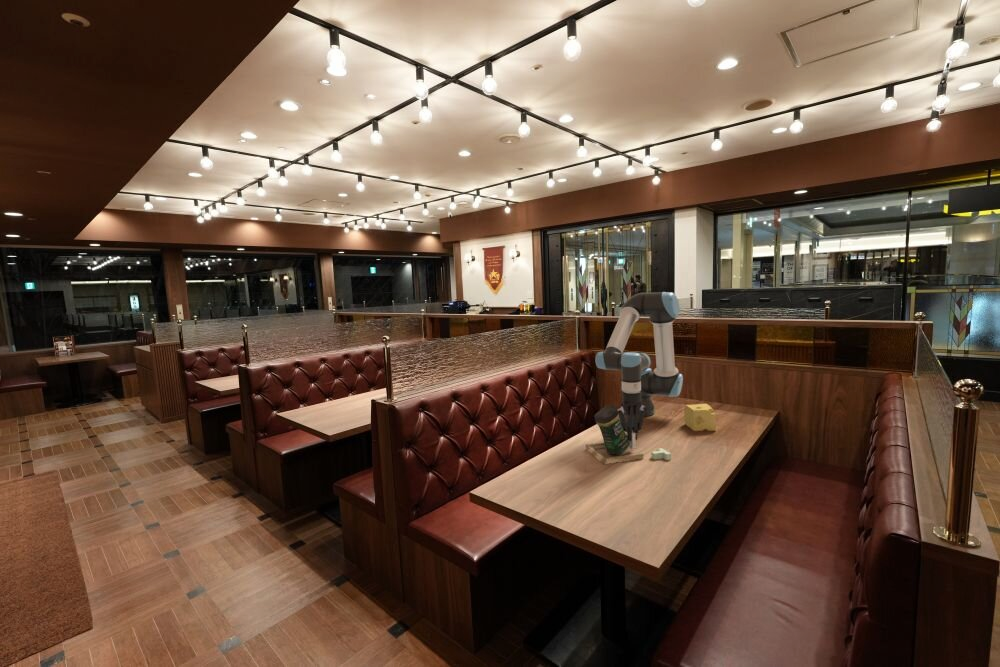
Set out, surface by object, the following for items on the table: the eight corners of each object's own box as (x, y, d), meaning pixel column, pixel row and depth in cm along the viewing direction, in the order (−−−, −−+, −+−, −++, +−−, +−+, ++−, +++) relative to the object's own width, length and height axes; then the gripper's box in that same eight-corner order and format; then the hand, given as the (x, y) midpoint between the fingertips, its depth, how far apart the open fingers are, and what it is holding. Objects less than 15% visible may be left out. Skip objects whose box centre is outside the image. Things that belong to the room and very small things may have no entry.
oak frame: (586, 449, 181) (585, 444, 181) (622, 444, 185) (622, 439, 185) (603, 464, 166) (603, 459, 165) (643, 458, 169) (643, 453, 169)
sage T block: (648, 455, 172) (648, 449, 172) (661, 453, 174) (661, 448, 173) (657, 461, 166) (657, 455, 166) (671, 459, 168) (671, 453, 167)
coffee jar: (619, 457, 170) (604, 417, 166) (604, 453, 176) (589, 414, 172) (634, 443, 175) (619, 404, 171) (618, 440, 181) (604, 402, 177)
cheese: (716, 431, 196) (716, 409, 195) (692, 431, 196) (692, 410, 195) (706, 423, 207) (706, 403, 205) (683, 424, 207) (683, 404, 206)
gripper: (621, 395, 169) (622, 453, 171) (650, 391, 172) (651, 448, 174) (612, 390, 176) (613, 446, 178) (640, 387, 179) (641, 442, 181)
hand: (632, 447), depth 176 cm, fingers closed
